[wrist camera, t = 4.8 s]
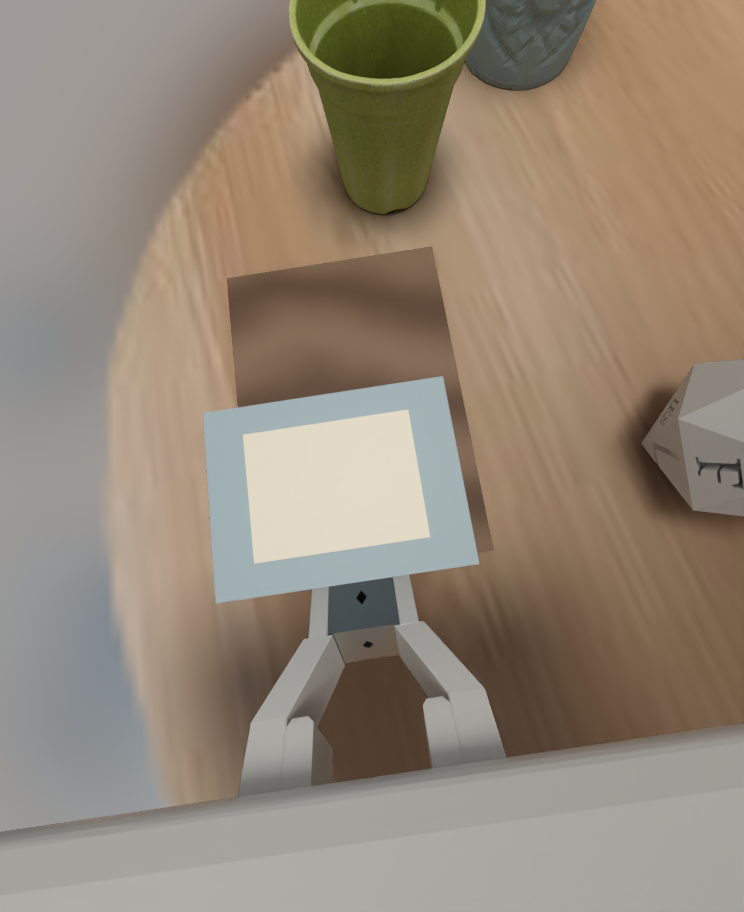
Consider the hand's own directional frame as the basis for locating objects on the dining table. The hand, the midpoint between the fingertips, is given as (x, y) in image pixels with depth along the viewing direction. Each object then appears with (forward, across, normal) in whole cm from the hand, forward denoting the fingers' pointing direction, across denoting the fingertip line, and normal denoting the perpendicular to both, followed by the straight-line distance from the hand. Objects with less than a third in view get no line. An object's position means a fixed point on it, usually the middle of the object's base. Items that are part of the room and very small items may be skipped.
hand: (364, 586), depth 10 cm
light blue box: (+8, 0, +4) cm, 9 cm away
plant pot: (+25, -5, -11) cm, 28 cm away
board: (+13, 0, 0) cm, 13 cm away
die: (+9, -20, +5) cm, 23 cm away
